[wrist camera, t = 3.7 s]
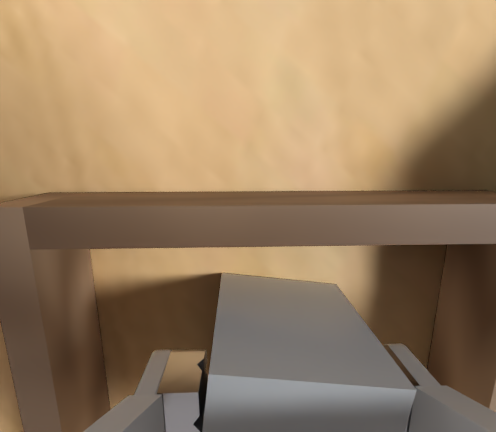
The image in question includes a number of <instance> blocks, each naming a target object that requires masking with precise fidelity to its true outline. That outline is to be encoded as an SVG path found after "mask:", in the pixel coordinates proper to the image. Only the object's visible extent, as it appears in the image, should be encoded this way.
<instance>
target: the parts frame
mask: <svg viewBox="0 0 496 432" xmlns="http://www.w3.org/2000/svg"><path fill="white" fill-rule="evenodd" d="M432 244H447V249H446V256H445V262H444V268H443V274H442V281H441V287H440V293H439V299H438V306H437V312H436V318H435V324H434V331H433V337H432V343H431V350H430V356H429V362H428V368H427V370H428V371H429V373H430V374H431V375H432V376H433V377H434V378H435V379H436V380H437V382H438V383H439V384H440V385H441V386H446V385H447V386H449V387H450V388H452V389H454V390H456V391H458V392H460V393H461V394H463V395H465V396H467V397H469V398H471V399H472V400H474V401H476V402H478V403H480V404H481V405H483V406H485V407H487V408H489V409H491V410H492V411H494V412H496V192H493V191H486V190H464V191H275V192H85V193H45V194H41V195H36V196H31V197H26V198H21V199H16V200H11V201H6V202H1V203H0V321H1V326H2V330H3V335H4V340H5V344H6V349H7V354H8V359H9V363H10V368H11V373H12V377H13V382H14V387H15V392H16V396H17V401H18V406H19V410H20V415H21V420H22V424H23V429H24V432H83V431H85V430H86V429H87V428H88V427H90V426H91V425H92V424H93V423H95V422H96V421H97V420H98V419H100V418H101V417H102V416H103V415H104V414H106V413H107V412H108V411H109V410H110V405H109V397H108V389H107V381H106V374H105V366H104V358H103V350H102V342H101V335H100V327H99V319H98V311H97V303H96V296H95V288H94V280H93V272H92V264H91V257H90V249H112V248H192V247H272V246H352V245H432Z"/></svg>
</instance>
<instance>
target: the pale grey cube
mask: <svg viewBox="0 0 496 432" xmlns="http://www.w3.org/2000/svg"><path fill="white" fill-rule="evenodd" d="M416 391H417V390H416V389H415V387H414V386H413V385H412V383H411V382H410V381H409V379H408V378H407V377H406V375H405V374H404V373H403V371H402V370H401V369H400V368H399V366H398V365H397V364H396V362H395V361H394V360H393V358H392V357H391V356H390V354H389V353H388V352H387V350H386V349H385V348H384V347H383V345H382V344H381V343H380V341H379V340H378V339H377V337H376V336H375V335H374V333H373V332H372V331H371V329H370V328H369V327H368V325H367V324H366V323H365V322H364V320H363V319H362V318H361V316H360V315H359V314H358V312H357V311H356V310H355V308H354V307H353V306H352V304H351V303H350V302H349V301H348V299H347V298H346V297H345V295H344V294H343V293H342V291H341V290H340V289H339V287H338V286H337V285H336V284H328V283H318V282H308V281H298V280H288V279H278V278H268V277H258V276H248V275H238V274H228V273H222V275H221V283H220V291H219V298H218V306H217V314H216V321H215V329H214V337H213V344H212V352H211V360H210V368H209V375H208V385H207V394H206V403H205V412H204V421H203V430H202V432H405V428H406V425H407V421H408V418H409V415H410V411H411V408H412V405H413V401H414V398H415V394H416Z"/></svg>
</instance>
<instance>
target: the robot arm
mask: <svg viewBox="0 0 496 432" xmlns="http://www.w3.org/2000/svg"><path fill="white" fill-rule="evenodd" d="M383 347H384V348H385V349H386V350H387V352H388V353H389V354H390V356H391V357H392V358H393V360H394V361H395V362H396V364H397V365H398V366H399V368H400V369H401V370H402V371H403V373H404V374H405V375H406V377H407V378H408V379H409V381H410V382H411V383H412V385H413V386H414V387H415V389H416V390H417V391H416V394H415V398H414V401H413V405H412V408H411V411H410V415H409V418H408V421H407V425H406V428H405V432H496V412H494V411H492V410H491V409H489V408H487V407H485V406H483V405H481V404H480V403H478V402H476V401H474V400H472V399H471V398H469V397H467V396H465V395H463V394H461V393H460V392H458V391H456V390H454V389H452V388H450V387H449V386H447V385H446V386H441V385H440V384H439V383H438V382H437V380H436V379H435V378H434V377H433V376H432V375H431V374H430V373H429V371H428V370H427V369H426V368H425V367H424V366H423V365H422V364H421V362H420V361H419V360H418V359H417V358H416V357H415V356H414V355H413V353H412V352H411V351H410V350H409V349H408V348H407V347H406V346H405V345H403V344H402V343H397V344H384V345H383ZM206 368H207V351H206V349H173V350H171V349H169V350H155V351H154V352H153V353H152V354H151V357H150V359H149V361H148V363H147V366H146V368H145V370H144V373H143V375H142V377H141V380H140V382H139V384H138V387H137V389H136V391H135V394H134V395H128V396H127V397H126V398H124V399H123V400H122V401H121V402H119V403H118V404H117V405H116V406H114V407H113V408H112V409H111V410H109V411H108V412H107V413H106V414H104V415H103V416H102V417H101V418H100V419H98V420H97V421H96V422H95V423H93V424H92V425H91V426H90V427H88V428H87V429H86V430H85V431H83V432H202V430H203V421H204V412H205V403H206V394H207V385H208V374H207V373H206Z"/></svg>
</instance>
